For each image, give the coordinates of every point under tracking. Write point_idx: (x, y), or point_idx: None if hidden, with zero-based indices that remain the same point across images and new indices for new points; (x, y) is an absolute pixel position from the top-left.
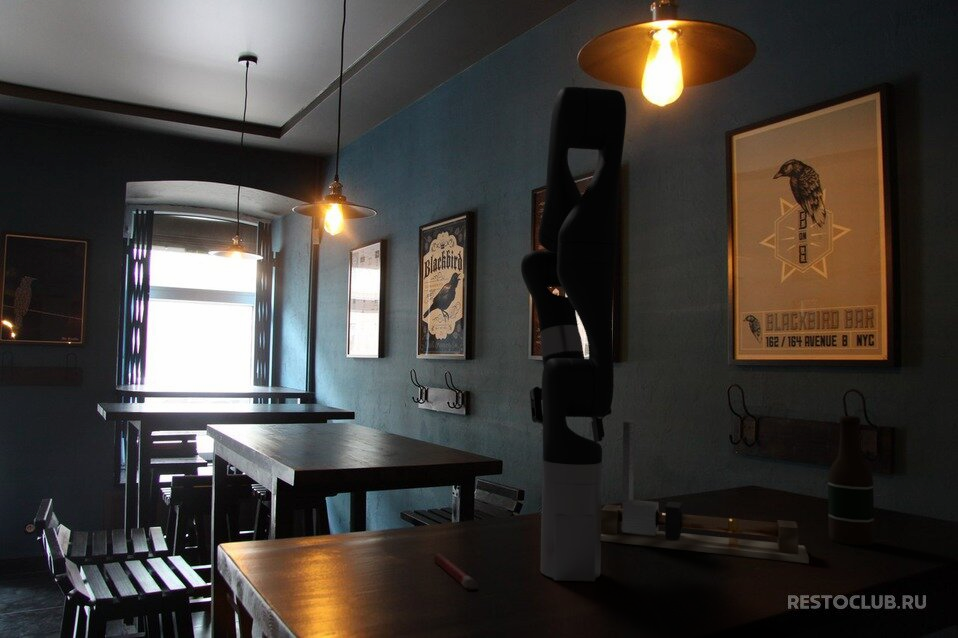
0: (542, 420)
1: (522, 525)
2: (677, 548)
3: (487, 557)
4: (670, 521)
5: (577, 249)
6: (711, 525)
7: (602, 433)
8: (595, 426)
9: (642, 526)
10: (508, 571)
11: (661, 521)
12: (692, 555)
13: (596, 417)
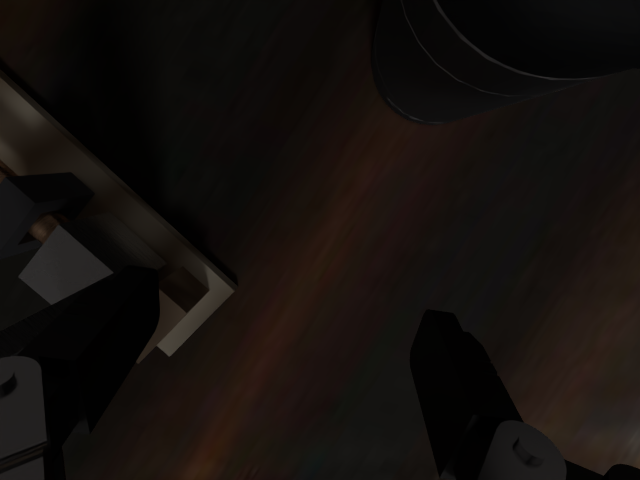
0: (578, 478)
1: (314, 436)
2: (95, 156)
3: (531, 233)
4: (55, 189)
5: None
6: None
7: (95, 296)
8: (109, 343)
9: (121, 235)
10: (553, 118)
11: (68, 221)
12: (91, 102)
13: (44, 384)
